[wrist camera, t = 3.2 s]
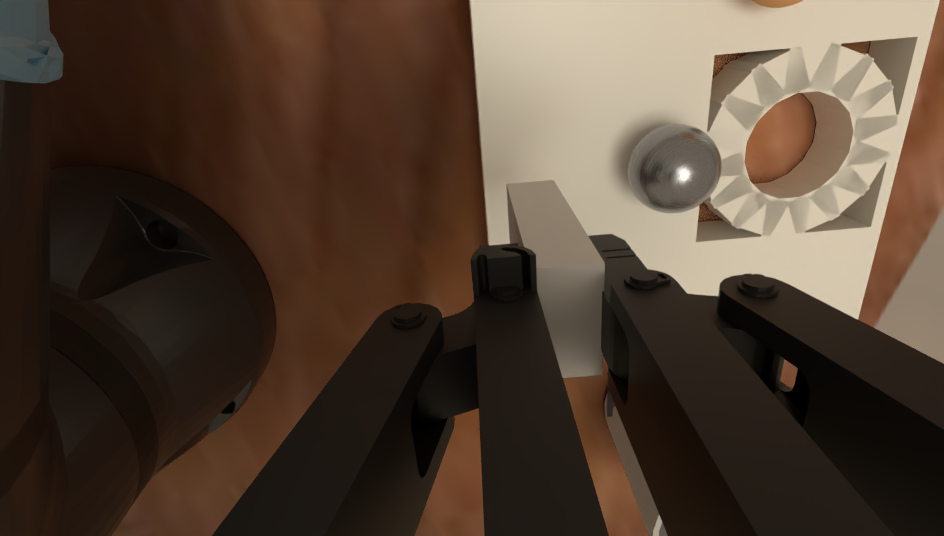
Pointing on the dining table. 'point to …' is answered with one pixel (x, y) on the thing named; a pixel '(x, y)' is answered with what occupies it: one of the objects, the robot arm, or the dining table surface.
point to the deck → (704, 125)
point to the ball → (674, 168)
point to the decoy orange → (776, 3)
